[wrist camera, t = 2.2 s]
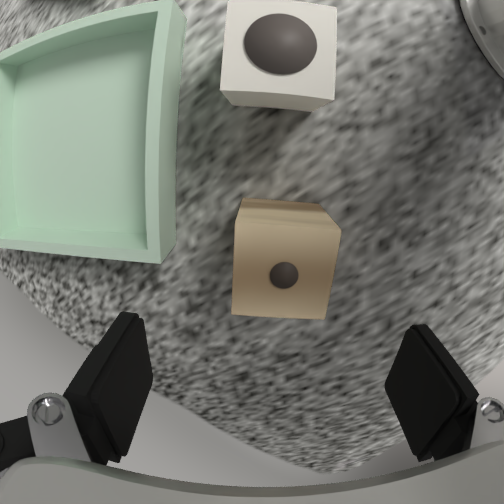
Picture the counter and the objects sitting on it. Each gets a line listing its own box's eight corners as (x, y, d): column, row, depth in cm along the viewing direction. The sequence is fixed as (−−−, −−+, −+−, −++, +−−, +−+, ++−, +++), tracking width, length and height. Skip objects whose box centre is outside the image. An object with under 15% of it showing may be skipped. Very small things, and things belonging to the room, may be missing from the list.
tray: (18, 60, 15) (-8, 56, 11) (187, 19, 15) (173, -2, 11) (18, 233, 20) (-7, 247, 17) (176, 243, 20) (160, 263, 17)
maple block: (242, 197, 19) (235, 222, 13) (318, 203, 19) (342, 231, 13) (238, 267, 21) (231, 315, 15) (309, 272, 21) (324, 320, 15)
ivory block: (238, 36, 15) (228, -4, 9) (315, 42, 15) (337, 6, 9) (232, 105, 17) (219, 90, 11) (311, 111, 17) (334, 99, 11)
